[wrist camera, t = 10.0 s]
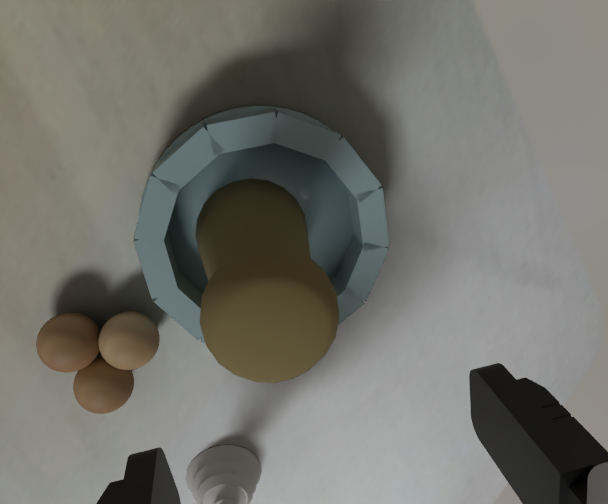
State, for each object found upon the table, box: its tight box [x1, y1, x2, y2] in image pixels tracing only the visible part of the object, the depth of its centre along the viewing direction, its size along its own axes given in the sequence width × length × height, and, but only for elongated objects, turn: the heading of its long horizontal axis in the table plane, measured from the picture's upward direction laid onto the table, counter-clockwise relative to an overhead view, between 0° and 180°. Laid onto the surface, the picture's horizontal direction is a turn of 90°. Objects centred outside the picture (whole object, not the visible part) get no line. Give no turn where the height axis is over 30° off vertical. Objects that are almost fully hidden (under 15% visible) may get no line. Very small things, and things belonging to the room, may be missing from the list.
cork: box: [195, 178, 339, 383], centre depth 23 cm, size 6×6×11 cm
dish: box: [133, 105, 389, 343], centre depth 28 cm, size 13×13×3 cm
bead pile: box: [36, 311, 159, 414], centre depth 29 cm, size 6×6×3 cm
